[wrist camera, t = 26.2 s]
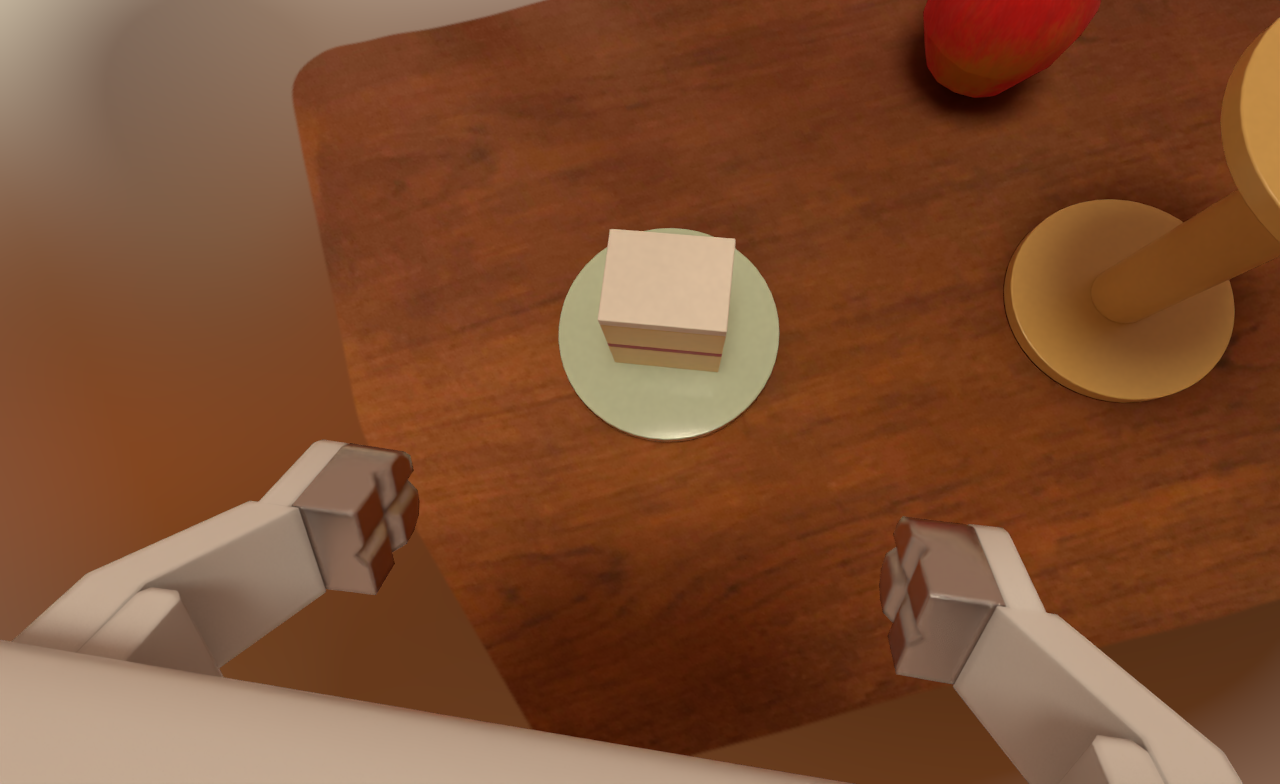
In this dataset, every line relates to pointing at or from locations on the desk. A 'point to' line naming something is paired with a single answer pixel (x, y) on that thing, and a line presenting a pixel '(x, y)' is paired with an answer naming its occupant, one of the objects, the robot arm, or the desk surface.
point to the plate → (666, 395)
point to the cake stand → (1154, 263)
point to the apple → (998, 40)
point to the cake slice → (666, 298)
